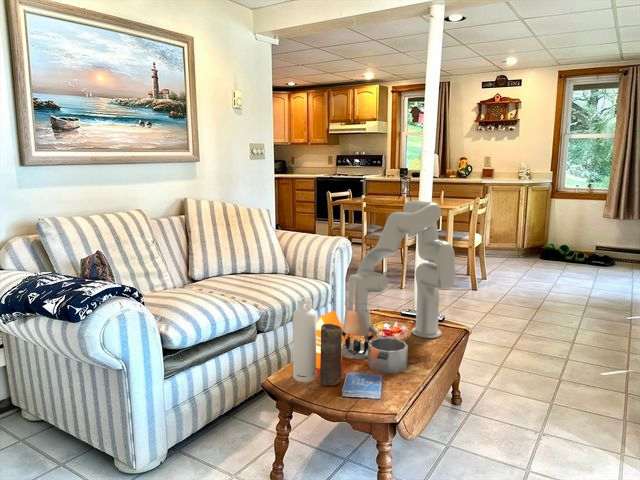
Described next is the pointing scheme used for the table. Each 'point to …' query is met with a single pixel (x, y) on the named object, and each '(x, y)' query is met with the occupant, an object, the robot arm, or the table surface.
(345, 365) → the table surface
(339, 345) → the candle
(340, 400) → the table surface
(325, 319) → the orange juice
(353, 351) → the lid
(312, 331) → the bottle
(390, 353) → the pot
